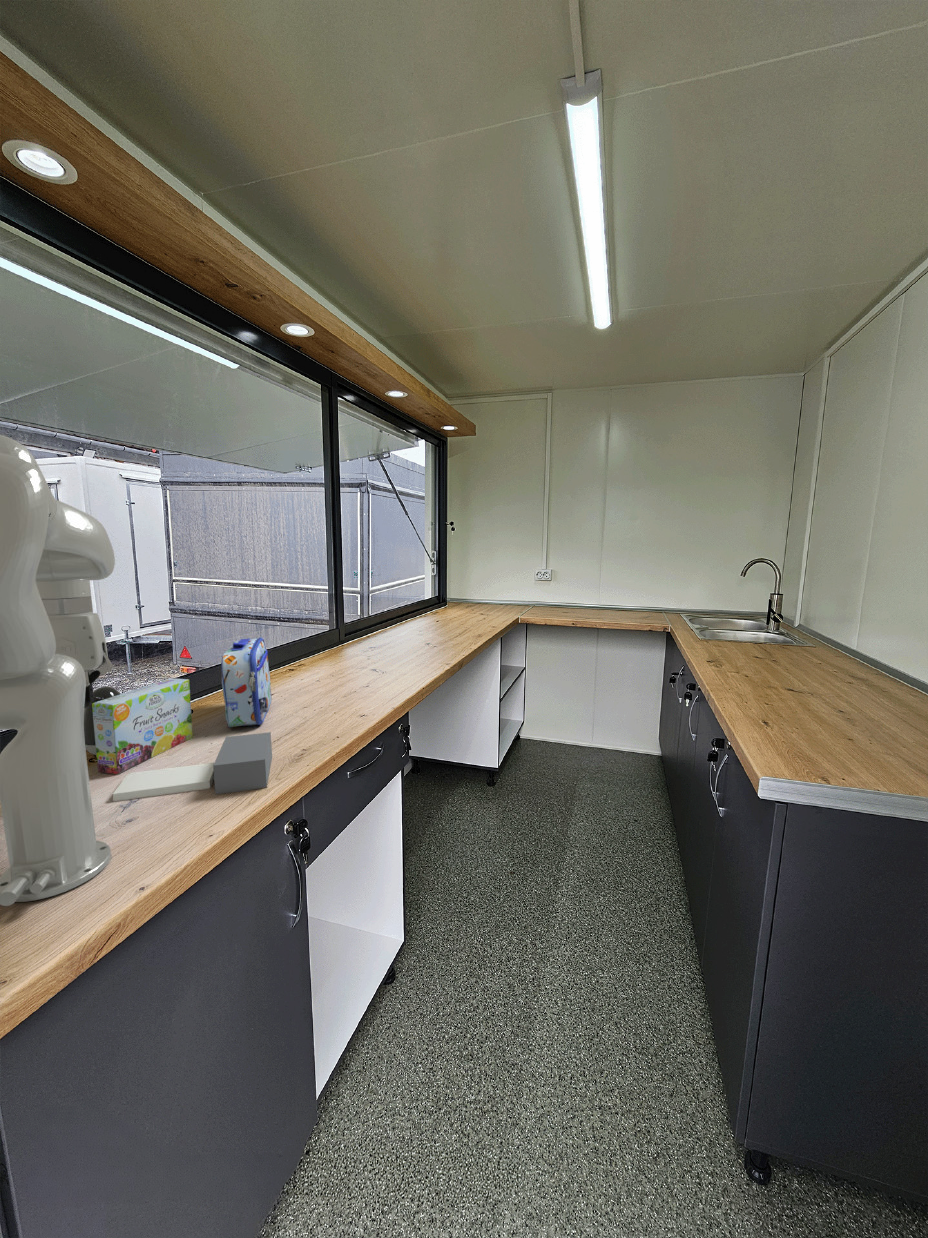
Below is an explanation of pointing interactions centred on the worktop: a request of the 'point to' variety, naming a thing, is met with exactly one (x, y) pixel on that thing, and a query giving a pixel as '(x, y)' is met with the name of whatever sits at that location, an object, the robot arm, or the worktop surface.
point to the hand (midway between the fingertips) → (78, 706)
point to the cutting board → (165, 781)
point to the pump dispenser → (88, 717)
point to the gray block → (243, 763)
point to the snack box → (141, 724)
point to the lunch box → (246, 682)
